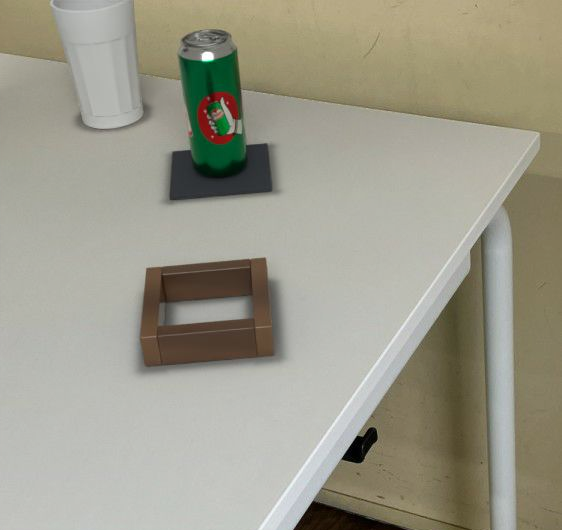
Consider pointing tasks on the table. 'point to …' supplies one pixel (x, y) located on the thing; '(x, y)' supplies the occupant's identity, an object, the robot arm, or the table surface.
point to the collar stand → (207, 335)
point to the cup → (101, 59)
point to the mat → (195, 185)
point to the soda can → (213, 103)
